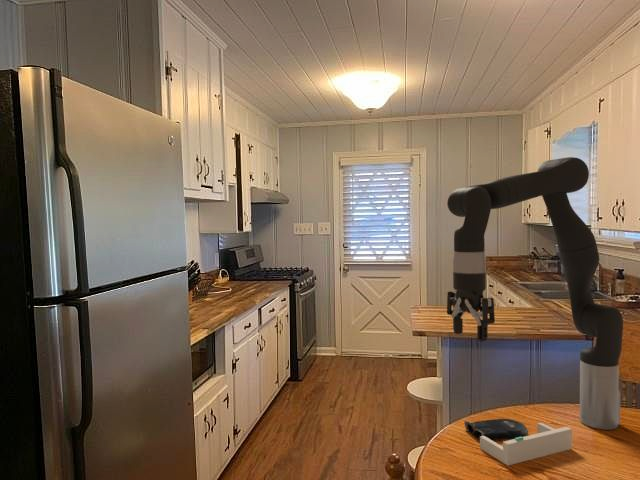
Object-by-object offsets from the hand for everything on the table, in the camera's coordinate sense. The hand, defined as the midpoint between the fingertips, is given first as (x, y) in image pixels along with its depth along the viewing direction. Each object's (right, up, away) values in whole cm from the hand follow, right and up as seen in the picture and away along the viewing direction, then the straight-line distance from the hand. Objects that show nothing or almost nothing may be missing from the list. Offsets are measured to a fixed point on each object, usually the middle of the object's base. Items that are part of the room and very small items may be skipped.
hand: (469, 337), depth 115 cm
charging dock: (+15, -28, +3) cm, 32 cm away
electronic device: (+11, -29, +12) cm, 33 cm away
